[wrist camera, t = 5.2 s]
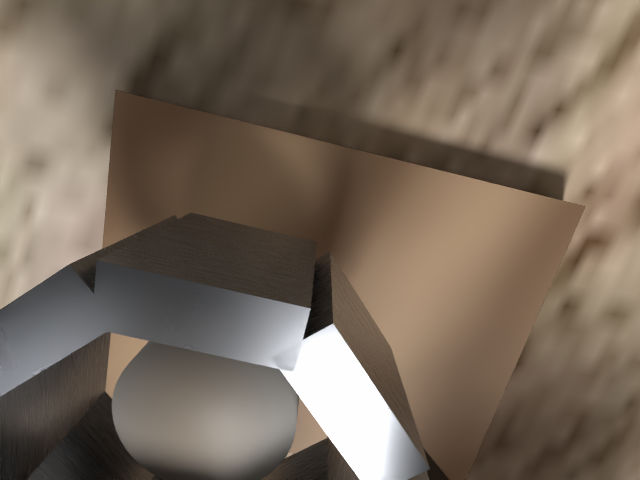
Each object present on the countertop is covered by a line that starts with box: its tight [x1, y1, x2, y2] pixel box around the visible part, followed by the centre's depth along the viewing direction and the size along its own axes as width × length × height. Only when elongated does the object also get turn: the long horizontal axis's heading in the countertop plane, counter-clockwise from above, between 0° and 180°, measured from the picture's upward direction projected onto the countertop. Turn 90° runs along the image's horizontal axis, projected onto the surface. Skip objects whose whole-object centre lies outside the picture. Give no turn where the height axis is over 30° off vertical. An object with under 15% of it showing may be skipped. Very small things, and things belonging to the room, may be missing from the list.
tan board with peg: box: [102, 90, 586, 480], centre depth 10 cm, size 14×11×6 cm
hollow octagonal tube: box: [0, 212, 430, 480], centre depth 7 cm, size 7×7×3 cm
